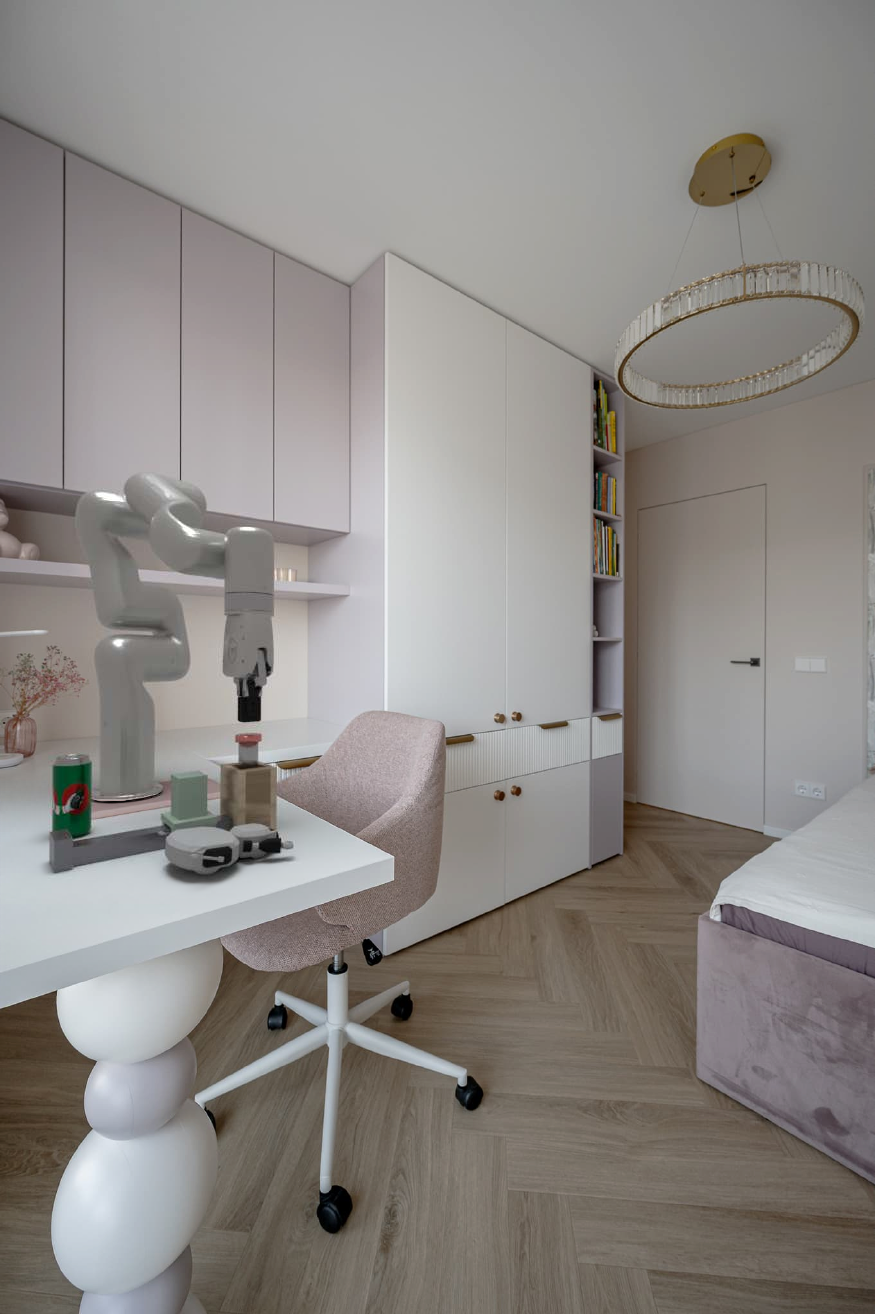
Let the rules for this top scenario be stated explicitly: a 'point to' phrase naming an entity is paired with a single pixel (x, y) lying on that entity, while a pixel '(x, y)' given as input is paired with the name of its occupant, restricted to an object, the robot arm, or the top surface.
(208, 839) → the robot toy
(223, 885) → the top surface
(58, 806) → the soda can
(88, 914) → the top surface
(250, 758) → the plunger
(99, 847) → the rail
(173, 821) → the carriage
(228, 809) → the open wooden box
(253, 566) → the robot arm
